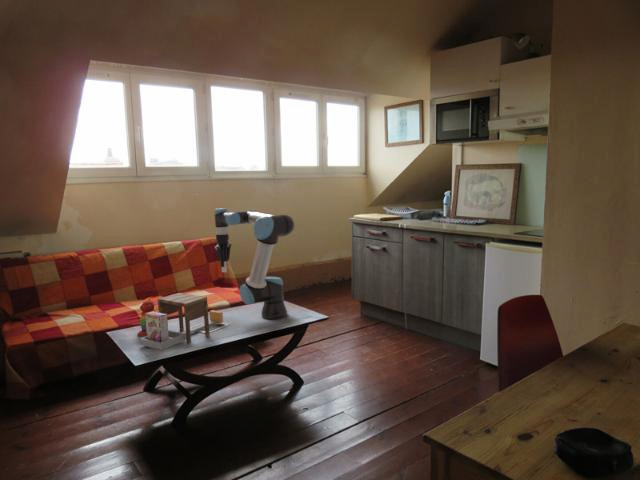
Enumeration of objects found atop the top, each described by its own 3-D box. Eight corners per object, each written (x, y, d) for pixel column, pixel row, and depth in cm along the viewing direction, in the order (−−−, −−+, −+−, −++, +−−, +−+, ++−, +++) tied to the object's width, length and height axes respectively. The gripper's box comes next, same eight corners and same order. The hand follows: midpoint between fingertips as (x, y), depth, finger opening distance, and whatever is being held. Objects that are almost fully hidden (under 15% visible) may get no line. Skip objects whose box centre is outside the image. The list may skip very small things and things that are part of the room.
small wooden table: (209, 335, 236) (207, 297, 233) (188, 343, 224) (185, 303, 221) (181, 329, 247) (179, 292, 244) (160, 337, 235) (157, 298, 232)
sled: (227, 323, 251) (227, 312, 250) (161, 349, 213) (160, 337, 213) (208, 319, 259) (207, 309, 258) (140, 344, 221) (139, 332, 221)
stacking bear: (144, 329, 248) (141, 298, 246) (162, 329, 248) (160, 297, 246) (136, 336, 238) (133, 303, 235) (155, 336, 237) (152, 303, 235)
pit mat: (229, 324, 252) (229, 323, 252) (207, 333, 238) (207, 333, 238) (209, 320, 261) (209, 320, 260) (186, 329, 246) (186, 328, 246)
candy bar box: (146, 345, 223) (144, 313, 221) (155, 342, 228) (152, 310, 225) (161, 349, 217) (159, 316, 215) (170, 346, 222) (167, 313, 219)
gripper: (224, 232, 282) (227, 269, 285) (209, 234, 271) (212, 273, 274) (234, 232, 278) (236, 270, 281) (219, 235, 267) (221, 274, 270)
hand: (224, 271), depth 277 cm, fingers closed
